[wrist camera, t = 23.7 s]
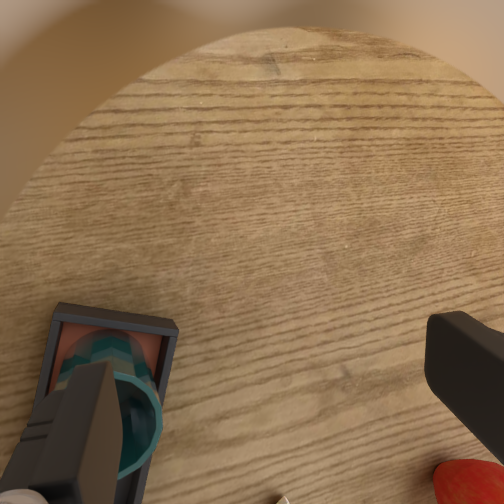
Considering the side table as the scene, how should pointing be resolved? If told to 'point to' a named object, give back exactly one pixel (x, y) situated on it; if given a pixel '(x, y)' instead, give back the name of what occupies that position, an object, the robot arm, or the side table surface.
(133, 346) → the cutlery cup
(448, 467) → the apple
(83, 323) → the divided tray
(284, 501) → the long cone
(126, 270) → the side table surface
